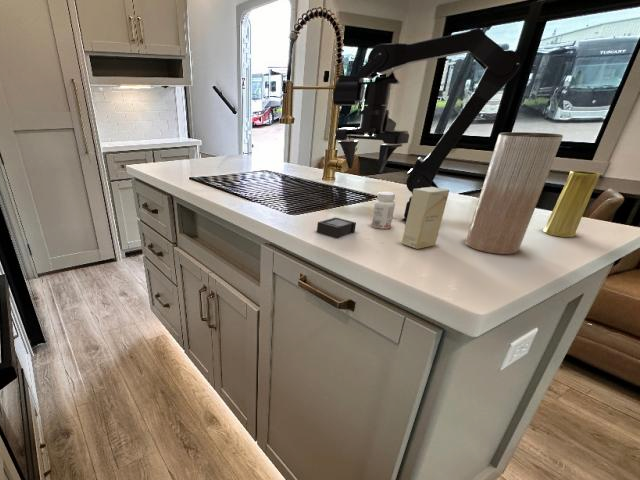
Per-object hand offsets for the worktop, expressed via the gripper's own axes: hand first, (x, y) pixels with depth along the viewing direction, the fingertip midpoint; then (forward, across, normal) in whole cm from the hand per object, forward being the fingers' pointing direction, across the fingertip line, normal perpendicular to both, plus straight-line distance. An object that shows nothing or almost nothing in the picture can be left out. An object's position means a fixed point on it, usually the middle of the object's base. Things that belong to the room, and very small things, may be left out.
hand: (364, 170), depth 98 cm
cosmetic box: (+12, -24, +12) cm, 29 cm away
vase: (+12, -42, -22) cm, 49 cm away
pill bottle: (+12, -11, +6) cm, 17 cm away
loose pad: (+12, -7, +19) cm, 24 cm away
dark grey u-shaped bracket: (+12, -7, +19) cm, 24 cm away
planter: (+12, -35, +1) cm, 37 cm away
